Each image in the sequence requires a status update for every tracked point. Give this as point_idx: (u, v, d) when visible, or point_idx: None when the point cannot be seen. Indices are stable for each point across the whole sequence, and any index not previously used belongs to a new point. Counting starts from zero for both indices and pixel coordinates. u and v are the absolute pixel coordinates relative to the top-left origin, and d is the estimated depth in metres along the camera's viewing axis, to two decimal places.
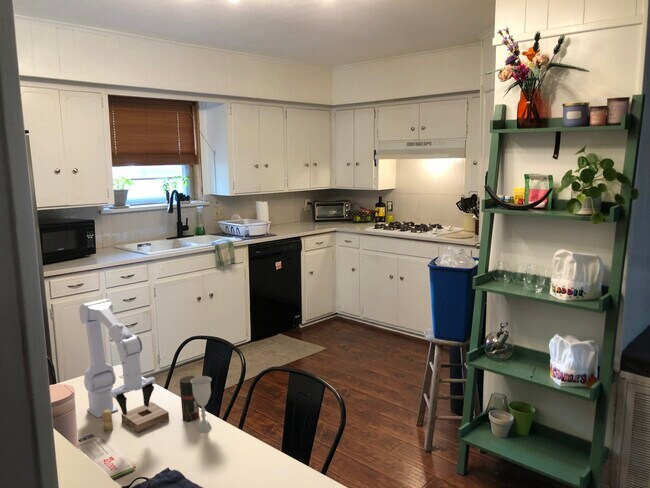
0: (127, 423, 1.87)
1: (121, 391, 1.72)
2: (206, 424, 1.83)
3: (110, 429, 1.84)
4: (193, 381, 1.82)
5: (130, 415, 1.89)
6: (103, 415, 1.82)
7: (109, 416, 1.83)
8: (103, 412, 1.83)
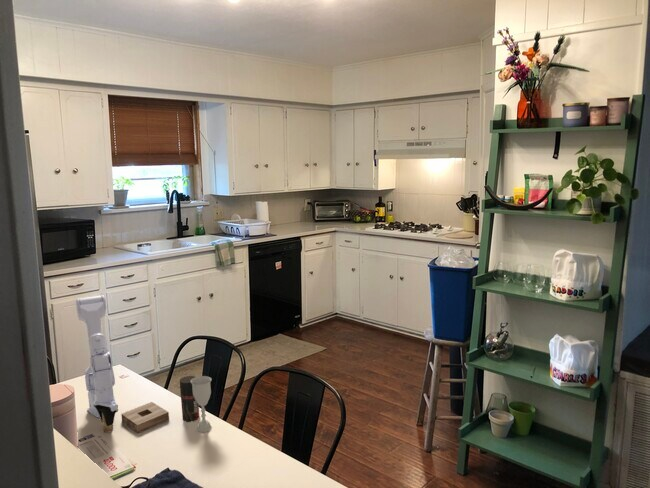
0: (127, 423, 1.87)
1: (95, 397, 1.85)
2: (206, 424, 1.83)
3: (110, 429, 1.84)
4: (193, 381, 1.82)
5: (130, 415, 1.89)
6: None
7: None
8: None
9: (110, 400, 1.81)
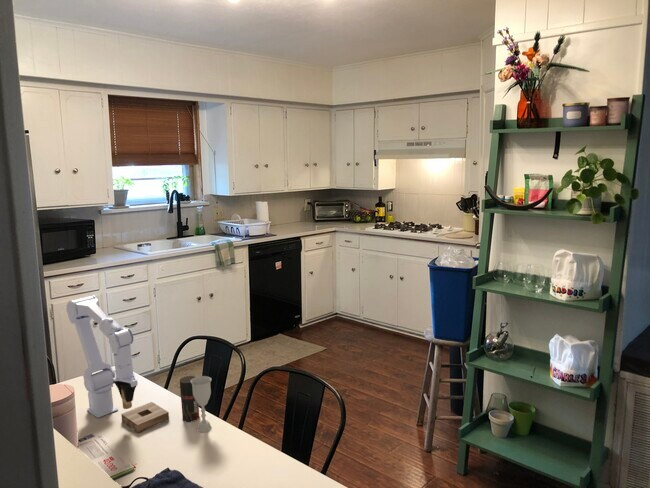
0: (127, 423, 1.87)
1: (114, 373, 1.87)
2: (206, 424, 1.83)
3: (129, 406, 1.85)
4: (193, 381, 1.82)
5: (130, 415, 1.89)
6: (122, 392, 1.84)
7: None
8: None
9: (130, 376, 1.83)
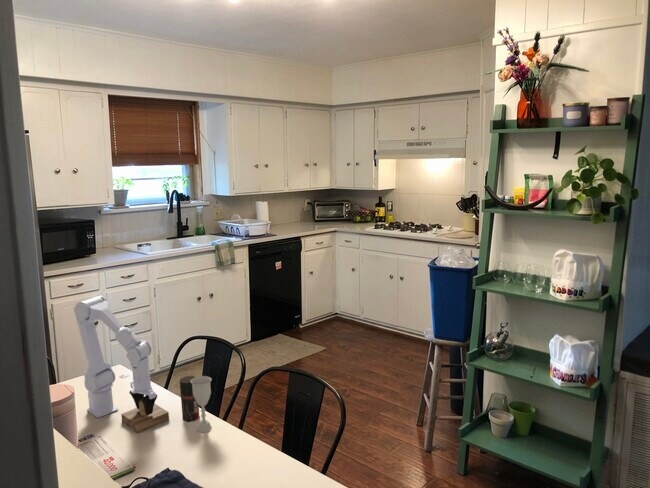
0: (127, 423, 1.87)
1: (132, 385, 1.90)
2: (206, 424, 1.83)
3: None
4: (193, 381, 1.82)
5: (130, 415, 1.89)
6: (140, 405, 1.88)
7: None
8: (140, 402, 1.89)
9: (148, 388, 1.87)
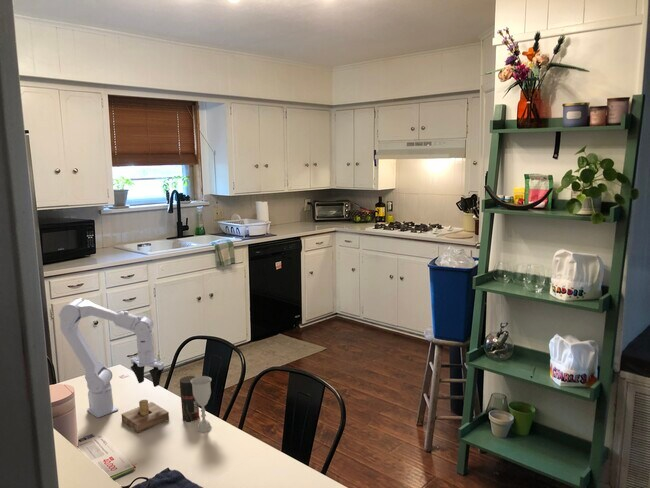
0: (127, 423, 1.87)
1: (134, 361, 1.97)
2: (206, 424, 1.83)
3: None
4: (193, 381, 1.82)
5: (130, 415, 1.89)
6: (140, 405, 1.88)
7: (146, 406, 1.89)
8: (140, 402, 1.89)
9: (153, 361, 1.96)
